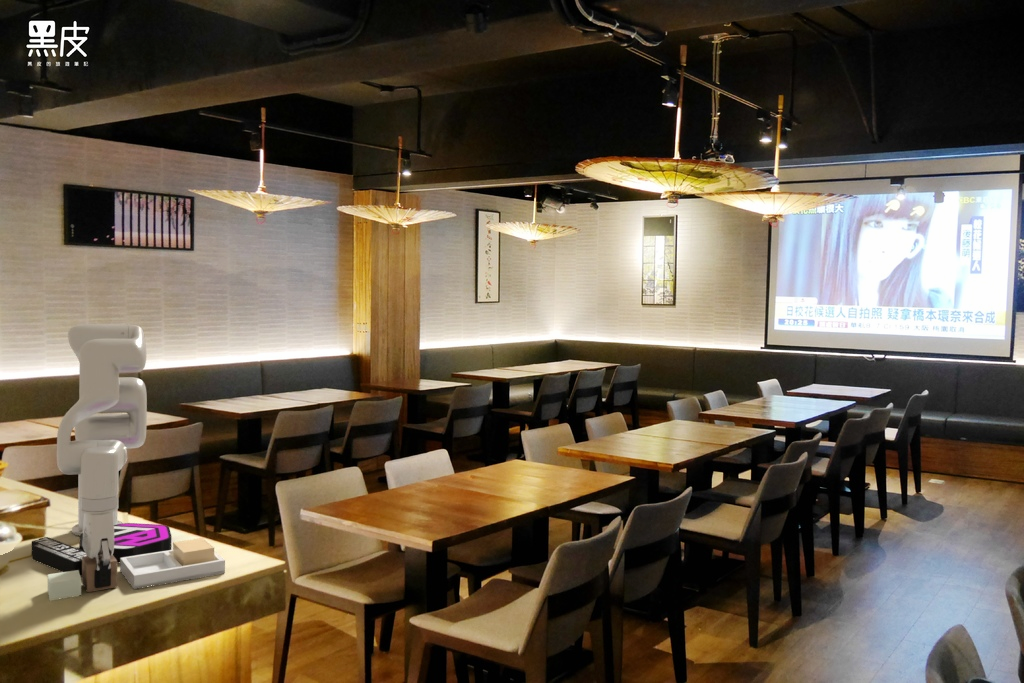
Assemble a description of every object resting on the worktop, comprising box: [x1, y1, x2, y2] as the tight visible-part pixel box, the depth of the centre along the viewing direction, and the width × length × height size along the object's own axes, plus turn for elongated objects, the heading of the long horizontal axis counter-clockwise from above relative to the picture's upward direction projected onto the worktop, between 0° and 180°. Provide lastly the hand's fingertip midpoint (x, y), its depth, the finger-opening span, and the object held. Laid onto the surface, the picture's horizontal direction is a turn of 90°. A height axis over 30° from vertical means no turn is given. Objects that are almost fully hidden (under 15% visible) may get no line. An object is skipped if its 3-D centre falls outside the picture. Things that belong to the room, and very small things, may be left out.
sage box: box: [47, 570, 82, 601], centre depth 181 cm, size 6×6×4 cm
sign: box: [31, 522, 172, 575], centre depth 208 cm, size 27×4×30 cm
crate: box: [119, 537, 226, 590], centre depth 196 cm, size 14×20×6 cm
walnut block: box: [81, 554, 118, 593], centre depth 185 cm, size 6×6×6 cm
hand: (99, 581), depth 185 cm, fingers closed on walnut block, 6 cm apart
